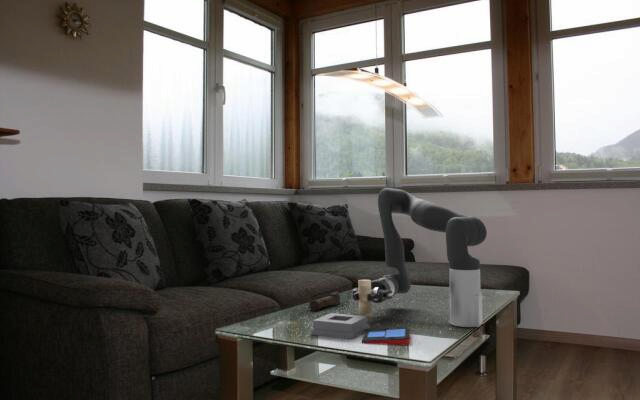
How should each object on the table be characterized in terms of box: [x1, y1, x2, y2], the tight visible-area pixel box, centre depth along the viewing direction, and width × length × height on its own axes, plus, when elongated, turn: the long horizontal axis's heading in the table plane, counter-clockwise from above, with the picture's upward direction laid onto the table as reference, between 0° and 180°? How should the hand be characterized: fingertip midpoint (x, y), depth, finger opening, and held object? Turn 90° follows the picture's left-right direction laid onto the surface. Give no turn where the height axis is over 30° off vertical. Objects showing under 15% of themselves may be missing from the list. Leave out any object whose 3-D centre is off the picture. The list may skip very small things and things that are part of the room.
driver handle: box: [357, 279, 373, 321], centre depth 165 cm, size 4×4×12 cm
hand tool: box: [308, 291, 341, 312], centre depth 194 cm, size 19×4×5 cm, turn 146°
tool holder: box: [310, 312, 371, 340], centre depth 154 cm, size 13×13×4 cm
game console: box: [361, 326, 410, 346], centre depth 146 cm, size 14×13×2 cm
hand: (361, 297), depth 163 cm, fingers closed on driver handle, 4 cm apart
